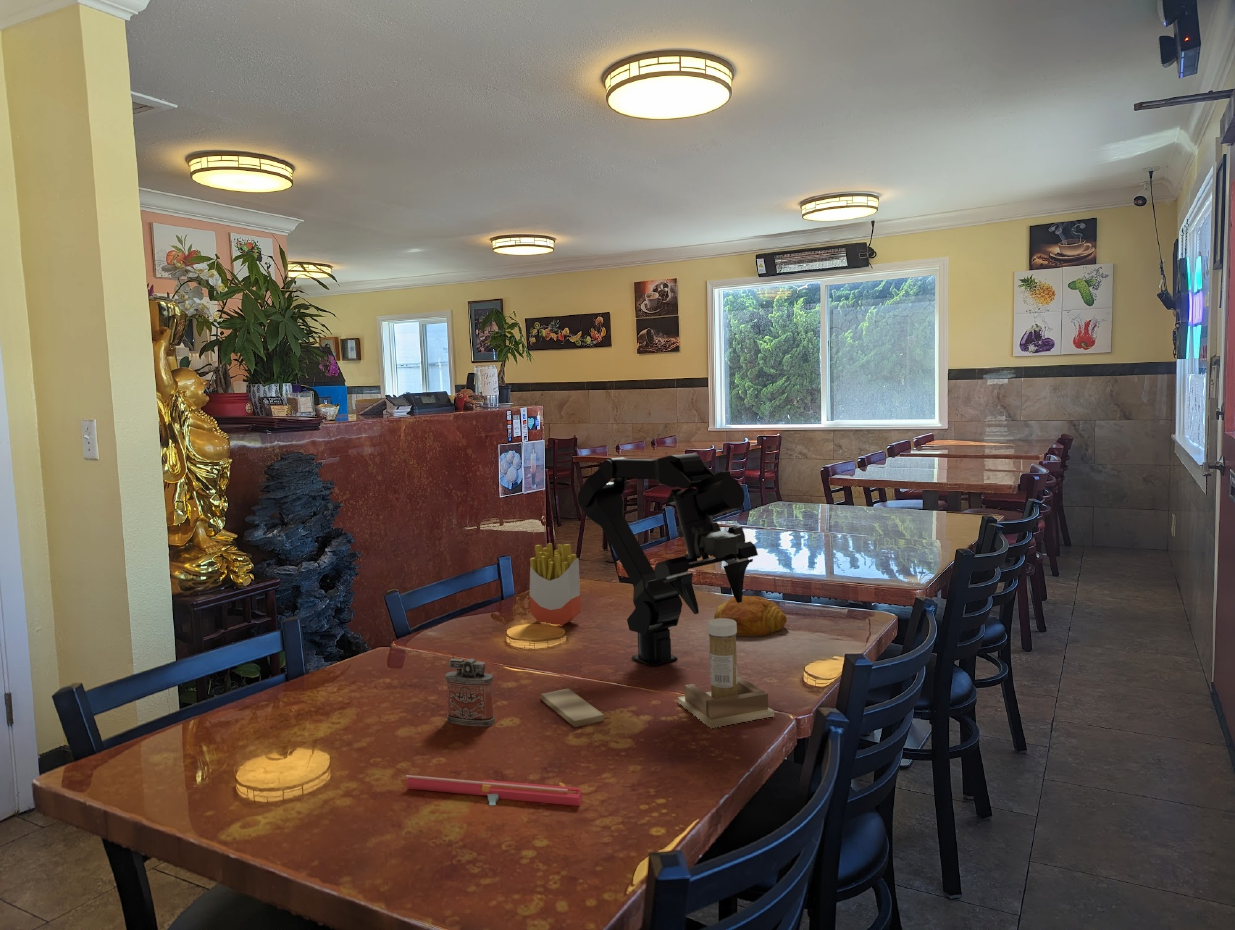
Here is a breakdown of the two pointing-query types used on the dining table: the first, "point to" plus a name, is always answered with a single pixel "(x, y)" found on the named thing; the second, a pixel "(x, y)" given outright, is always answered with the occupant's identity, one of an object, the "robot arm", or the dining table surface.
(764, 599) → the croissant
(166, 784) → the dining table surface
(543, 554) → the french fries container
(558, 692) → the loose plank
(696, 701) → the beige wooden u-shaped tray
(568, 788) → the red bar
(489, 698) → the lighter
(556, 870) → the dining table surface
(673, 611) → the robot arm
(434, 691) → the dining table surface
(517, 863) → the dining table surface
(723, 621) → the sprinkles bottle
